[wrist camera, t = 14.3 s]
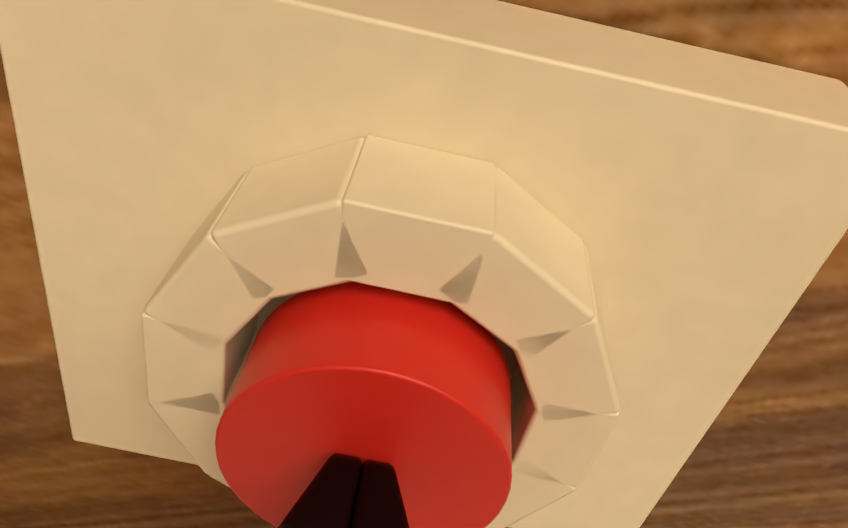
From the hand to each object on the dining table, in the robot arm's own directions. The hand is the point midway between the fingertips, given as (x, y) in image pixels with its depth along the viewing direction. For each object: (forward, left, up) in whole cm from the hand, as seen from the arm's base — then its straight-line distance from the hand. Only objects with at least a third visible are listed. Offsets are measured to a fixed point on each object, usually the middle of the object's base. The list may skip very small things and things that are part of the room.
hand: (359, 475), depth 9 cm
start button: (0, 0, -2) cm, 2 cm away
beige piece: (0, 0, -5) cm, 5 cm away
